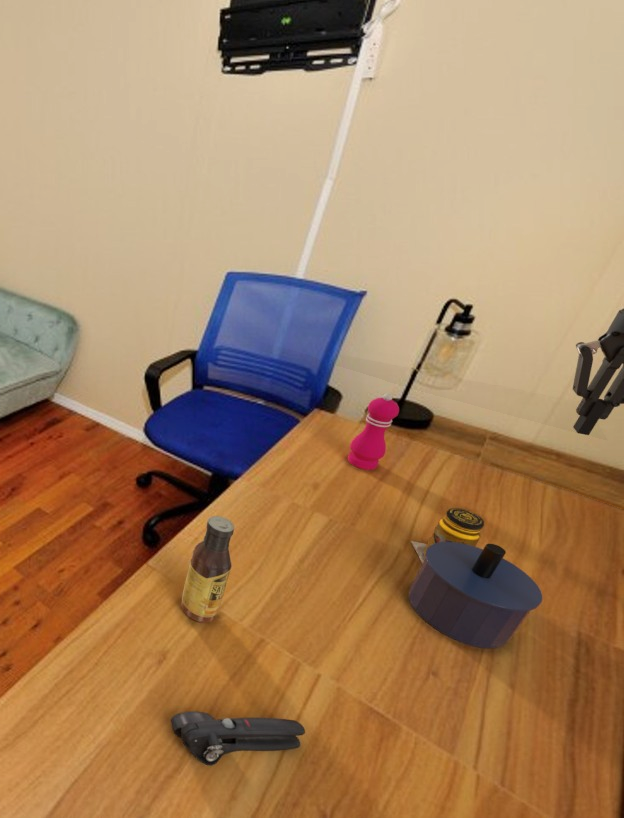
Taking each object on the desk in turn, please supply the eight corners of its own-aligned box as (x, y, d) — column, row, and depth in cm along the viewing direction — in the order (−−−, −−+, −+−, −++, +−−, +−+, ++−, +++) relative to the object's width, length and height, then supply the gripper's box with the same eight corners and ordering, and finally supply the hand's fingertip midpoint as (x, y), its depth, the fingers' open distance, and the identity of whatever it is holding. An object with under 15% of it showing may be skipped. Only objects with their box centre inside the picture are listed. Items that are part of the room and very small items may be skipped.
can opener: (182, 772, 68) (189, 749, 65) (165, 719, 74) (171, 695, 71) (314, 770, 68) (326, 747, 65) (286, 717, 74) (296, 694, 71)
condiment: (426, 571, 98) (451, 523, 92) (410, 541, 105) (432, 495, 99) (472, 580, 95) (501, 532, 90) (453, 549, 102) (478, 503, 97)
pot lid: (533, 571, 86) (552, 542, 83) (545, 631, 76) (567, 600, 73) (424, 534, 94) (438, 507, 91) (422, 583, 84) (438, 554, 81)
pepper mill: (374, 474, 125) (403, 404, 116) (341, 462, 130) (366, 393, 120) (382, 463, 129) (411, 394, 120) (350, 451, 134) (375, 384, 125)
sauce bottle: (209, 631, 87) (233, 545, 78) (174, 611, 90) (193, 526, 81) (222, 607, 91) (247, 523, 82) (189, 589, 95) (208, 506, 86)
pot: (505, 608, 90) (531, 569, 85) (512, 664, 80) (542, 624, 76) (409, 572, 97) (429, 534, 93) (406, 619, 88) (427, 580, 84)
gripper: (701, 312, 85) (622, 431, 96) (591, 301, 91) (529, 413, 102) (725, 325, 79) (639, 450, 90) (606, 312, 86) (538, 430, 97)
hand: (580, 430), depth 96 cm, fingers closed
